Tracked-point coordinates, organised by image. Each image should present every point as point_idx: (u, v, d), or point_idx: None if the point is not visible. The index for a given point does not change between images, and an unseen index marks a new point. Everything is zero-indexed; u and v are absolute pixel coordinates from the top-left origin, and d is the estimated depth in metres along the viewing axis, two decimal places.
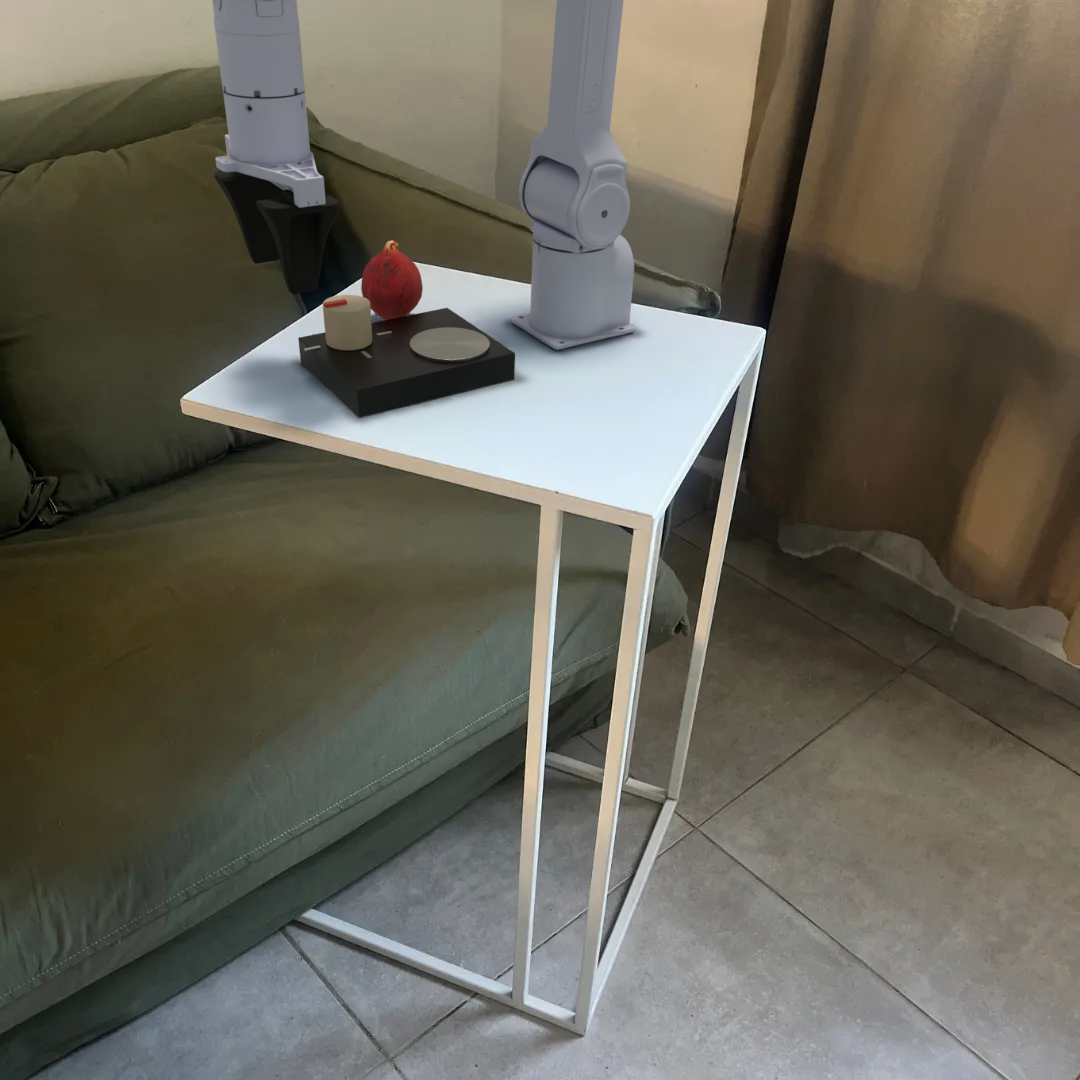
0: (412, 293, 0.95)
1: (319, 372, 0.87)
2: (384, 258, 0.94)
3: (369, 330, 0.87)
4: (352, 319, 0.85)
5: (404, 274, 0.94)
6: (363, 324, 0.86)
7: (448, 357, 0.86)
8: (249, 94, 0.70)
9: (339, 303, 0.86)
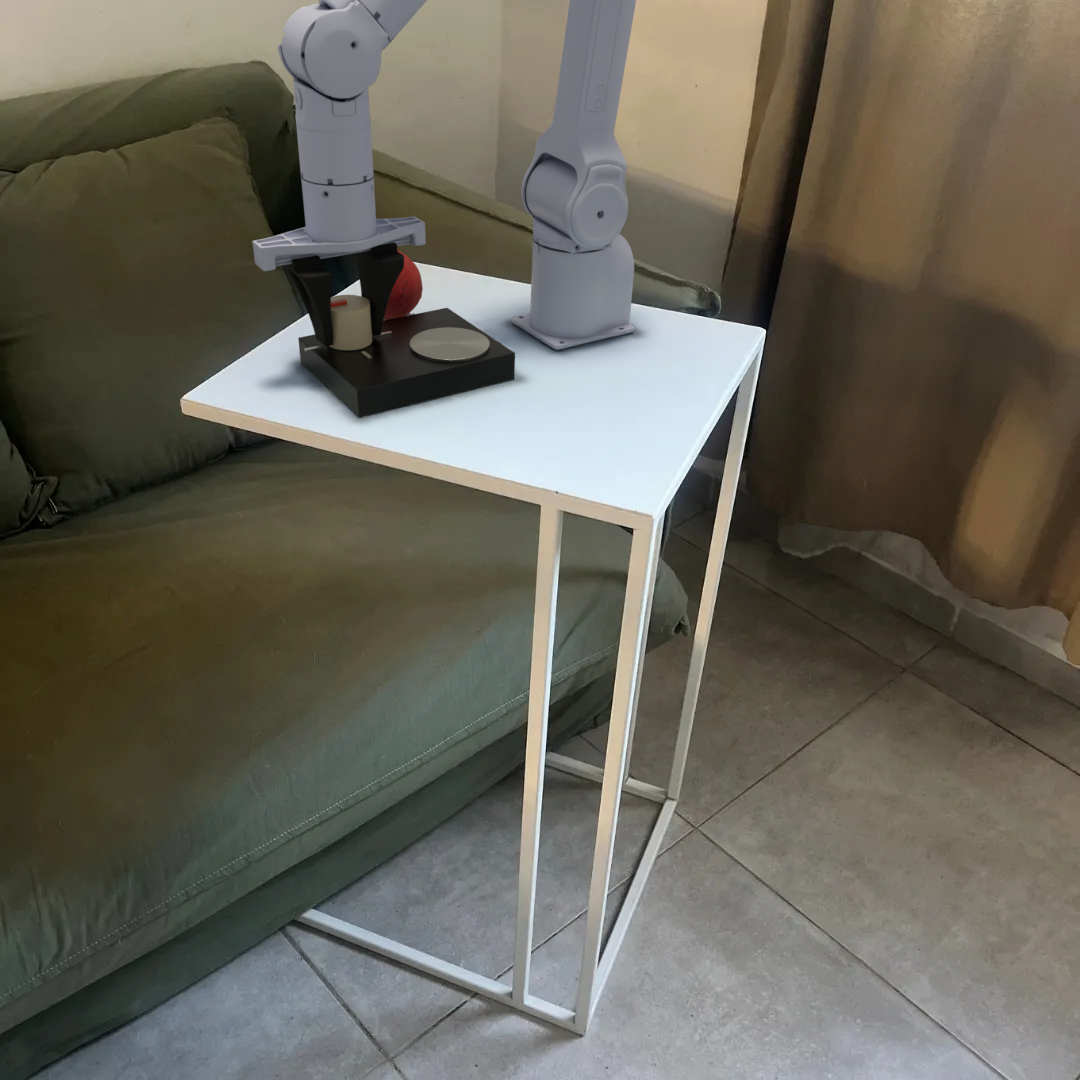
0: (412, 293, 0.95)
1: (319, 372, 0.87)
2: None
3: (369, 330, 0.87)
4: (352, 319, 0.85)
5: (403, 274, 0.94)
6: (363, 324, 0.86)
7: (448, 357, 0.86)
8: (323, 182, 0.78)
9: (339, 303, 0.86)
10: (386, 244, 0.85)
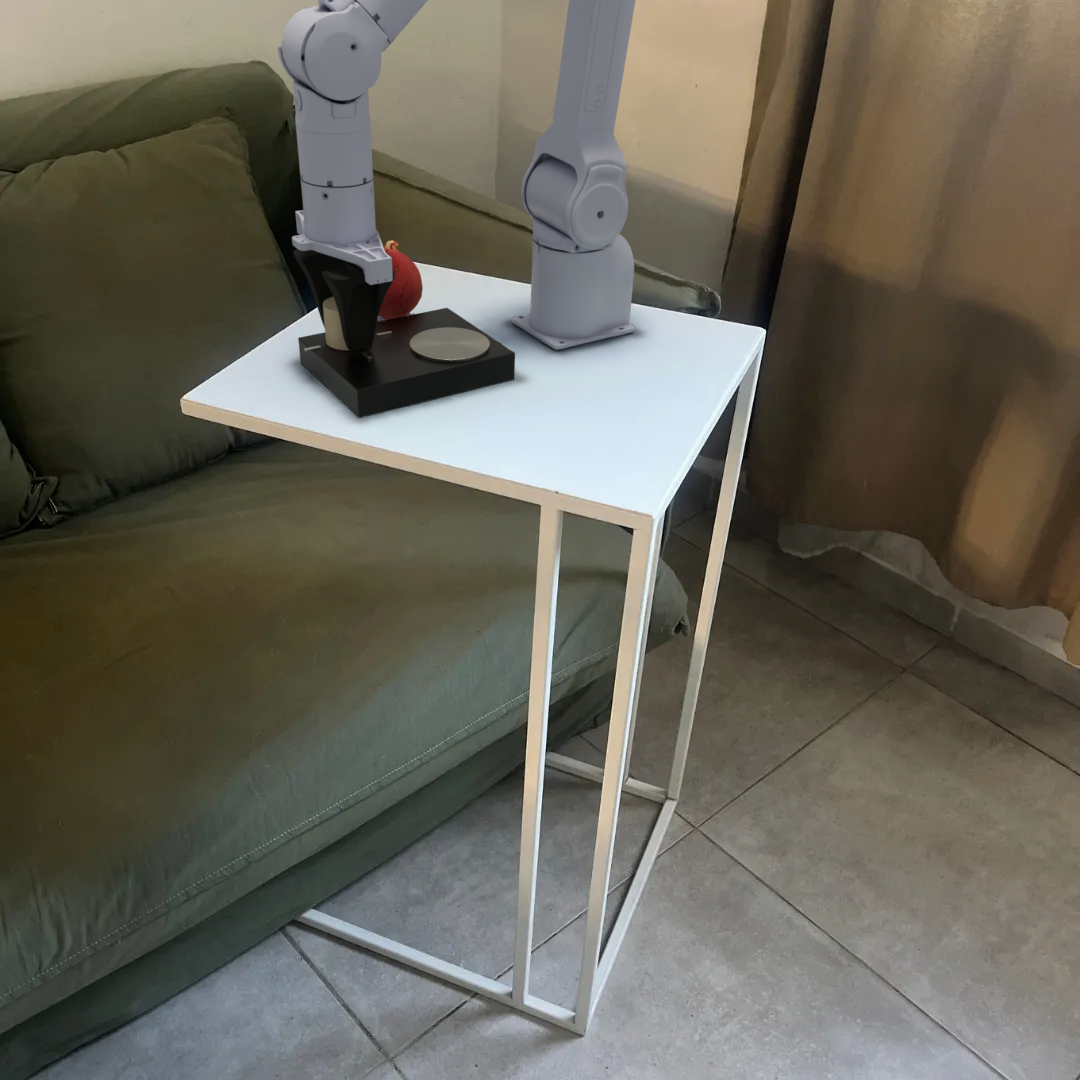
0: (412, 293, 0.95)
1: (319, 372, 0.87)
2: None
3: None
4: None
5: (403, 274, 0.94)
6: None
7: (448, 357, 0.86)
8: (323, 184, 0.78)
9: None
10: None
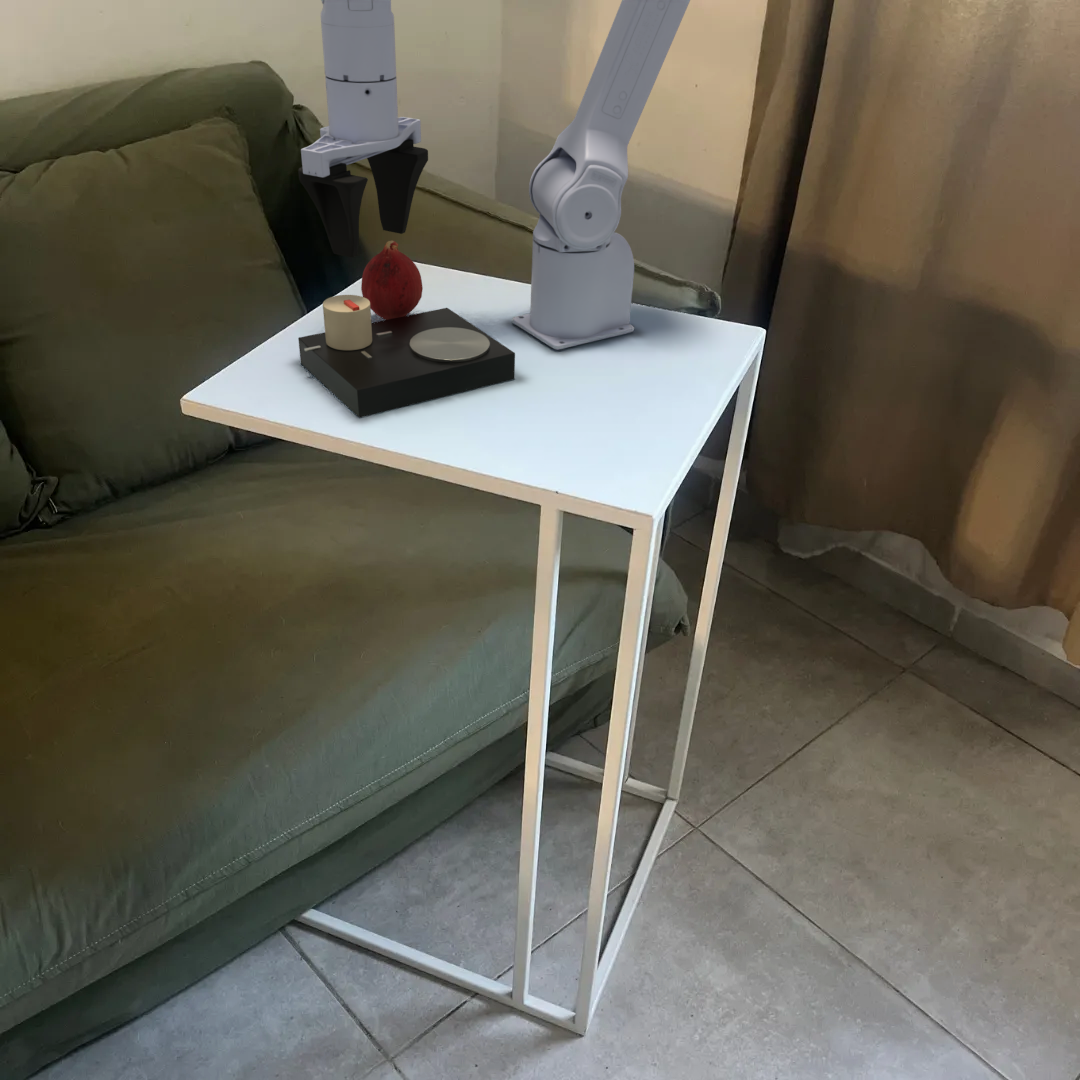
0: (412, 293, 0.95)
1: (319, 372, 0.87)
2: (384, 258, 0.94)
3: None
4: None
5: (403, 274, 0.94)
6: None
7: (448, 357, 0.86)
8: (339, 78, 0.80)
9: None
10: None
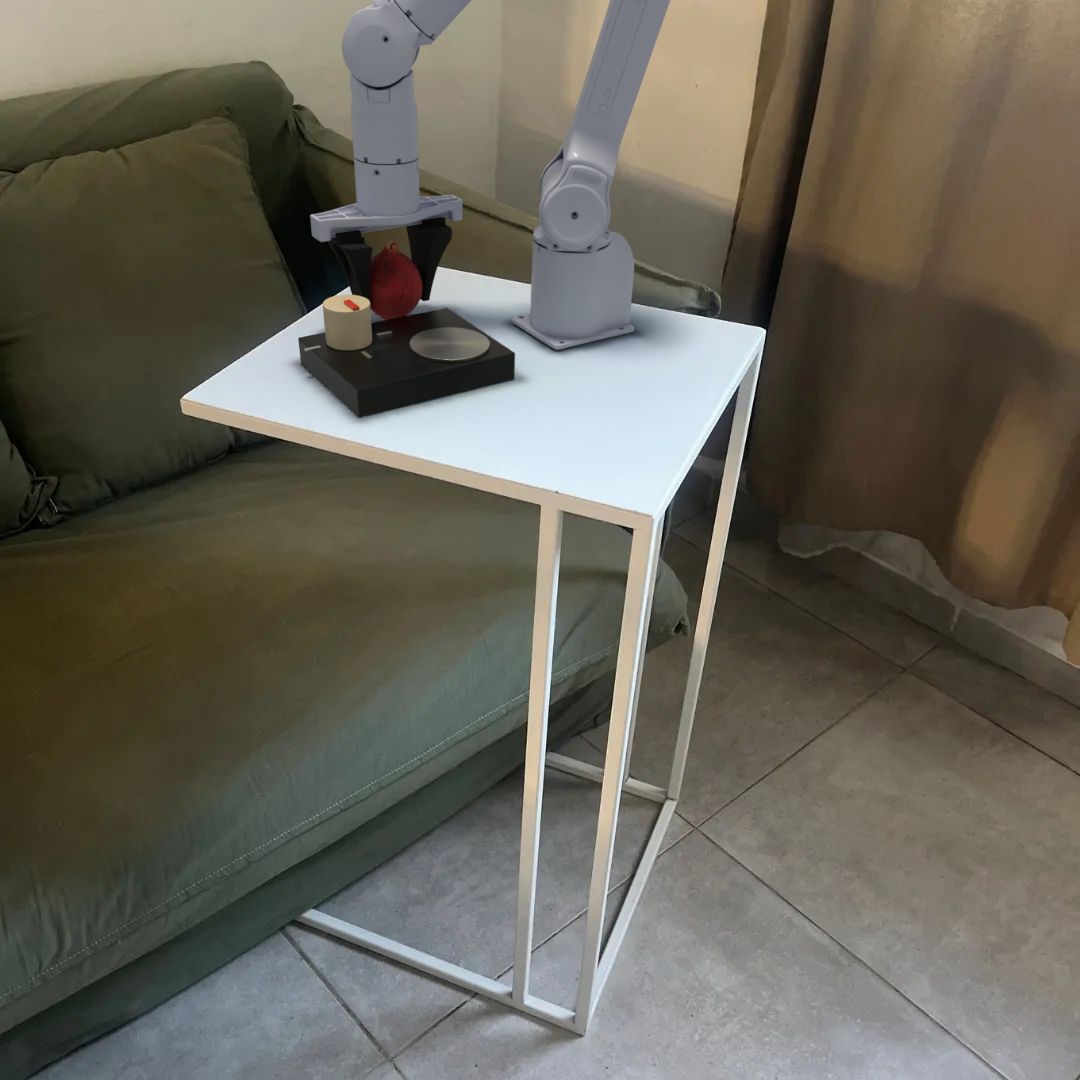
0: (412, 293, 0.95)
1: (319, 372, 0.87)
2: (384, 258, 0.94)
3: None
4: None
5: (403, 274, 0.94)
6: None
7: (448, 357, 0.86)
8: (361, 159, 0.88)
9: None
10: (427, 219, 0.95)
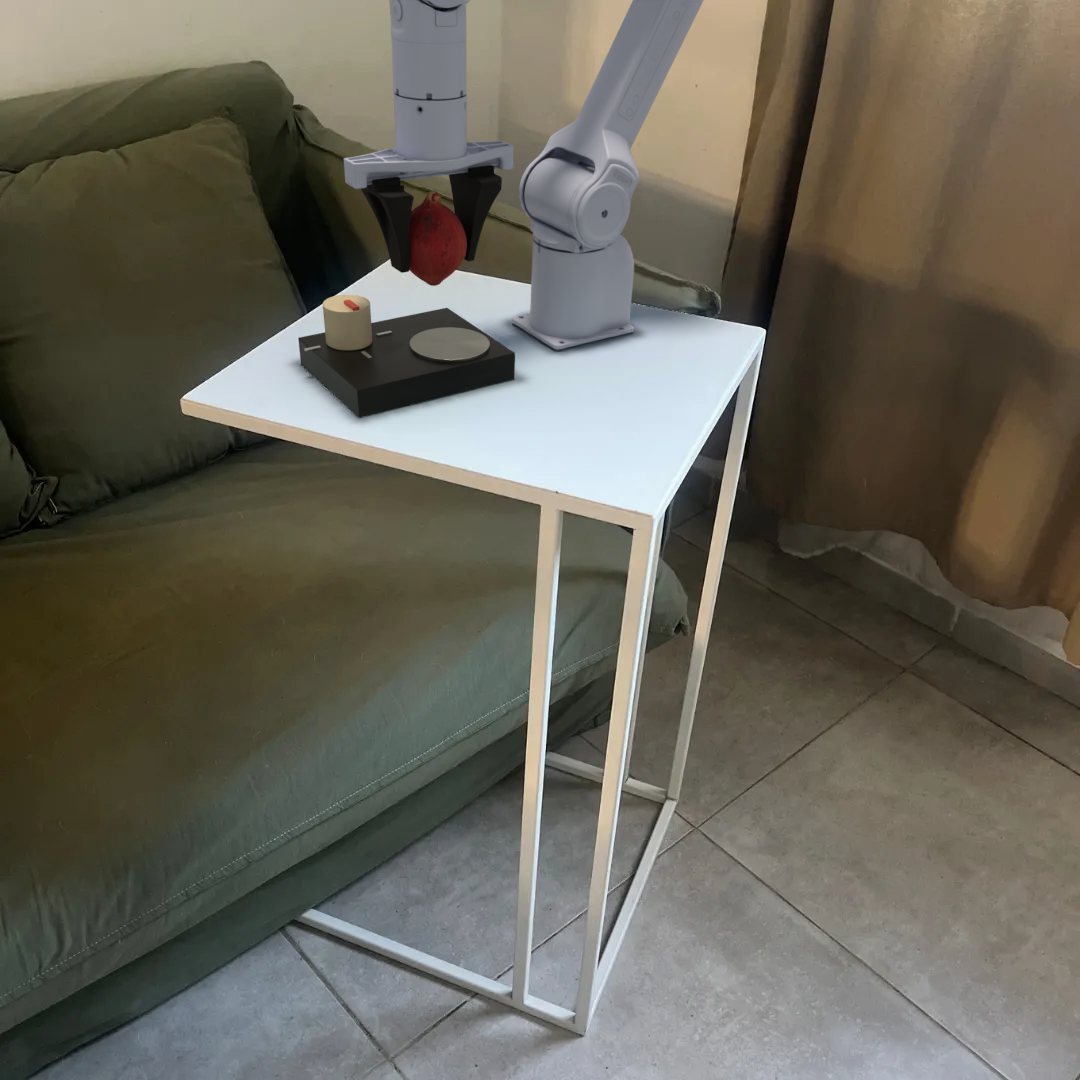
0: (456, 251, 0.85)
1: (319, 372, 0.87)
2: (425, 211, 0.83)
3: None
4: None
5: (447, 229, 0.84)
6: None
7: (448, 357, 0.86)
8: (422, 96, 0.77)
9: None
10: (474, 167, 0.84)
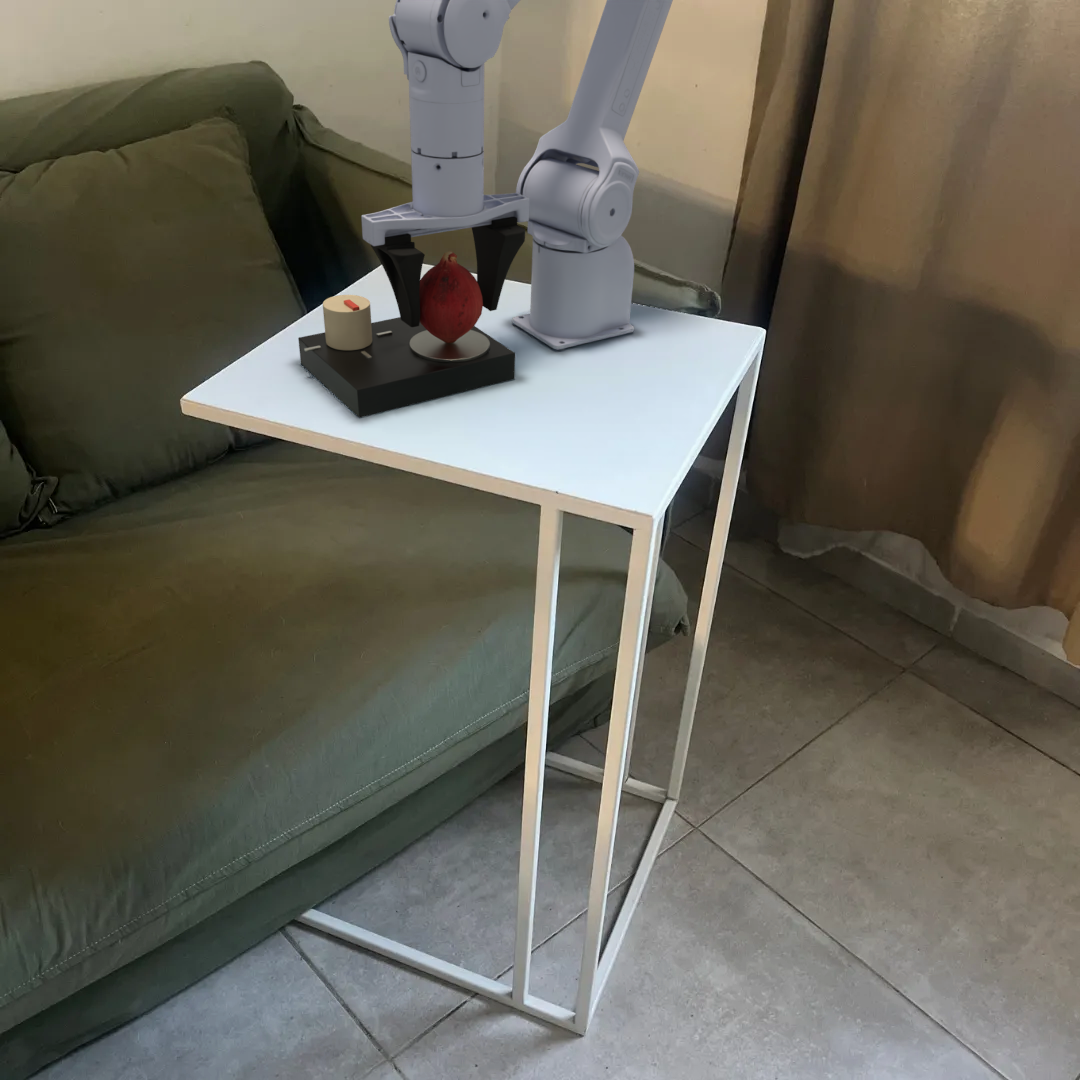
0: (472, 310, 0.85)
1: (319, 372, 0.87)
2: (442, 272, 0.84)
3: None
4: None
5: (463, 289, 0.84)
6: None
7: (448, 357, 0.86)
8: (447, 155, 0.77)
9: None
10: (490, 220, 0.84)
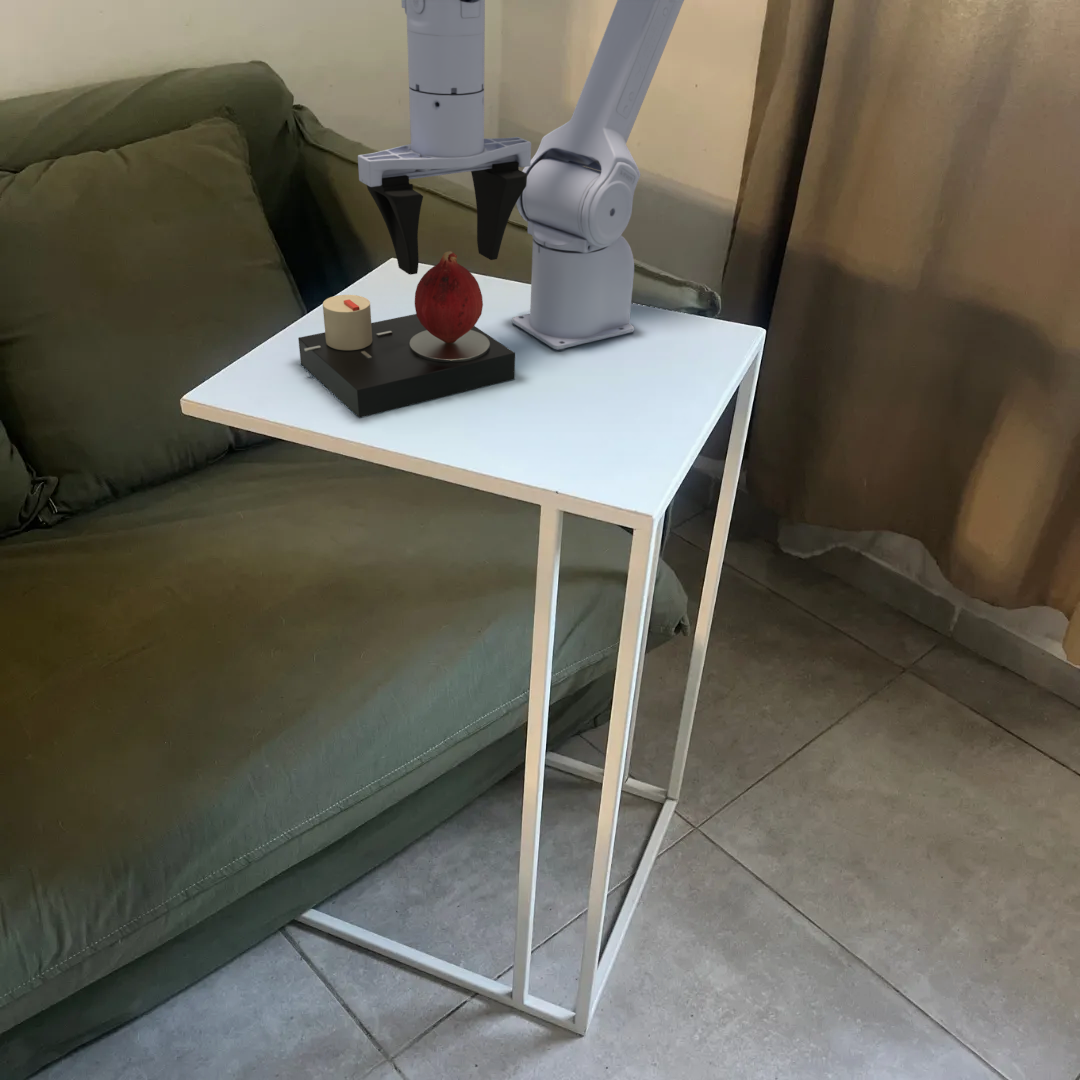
0: (472, 310, 0.85)
1: (319, 372, 0.87)
2: (442, 272, 0.84)
3: None
4: None
5: (463, 289, 0.84)
6: None
7: (448, 357, 0.86)
8: (446, 91, 0.74)
9: None
10: (491, 164, 0.82)
